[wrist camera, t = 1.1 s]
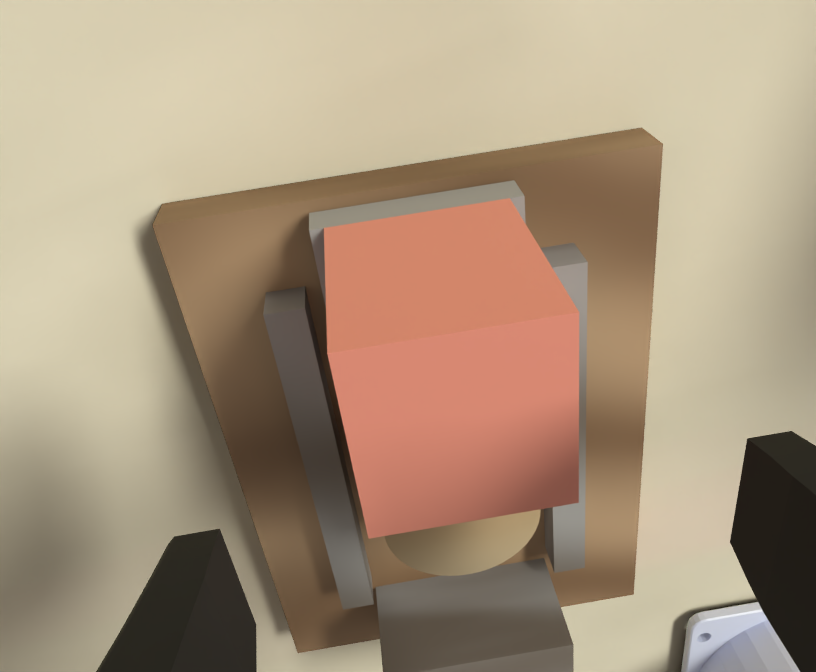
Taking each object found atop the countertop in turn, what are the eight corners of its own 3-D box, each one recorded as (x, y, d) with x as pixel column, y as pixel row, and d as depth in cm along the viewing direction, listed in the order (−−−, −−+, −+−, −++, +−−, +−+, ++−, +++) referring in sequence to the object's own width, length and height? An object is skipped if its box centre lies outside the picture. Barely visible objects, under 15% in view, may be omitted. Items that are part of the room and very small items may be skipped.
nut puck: (512, 470, 20) (542, 561, 18) (383, 492, 20) (394, 587, 18) (505, 365, 18) (538, 449, 16) (363, 388, 18) (372, 477, 16)
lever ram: (521, 336, 18) (594, 499, 13) (341, 366, 18) (352, 541, 13) (514, 180, 16) (598, 308, 11) (309, 212, 15) (307, 356, 11)
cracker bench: (620, 565, 25) (671, 679, 21) (298, 620, 25) (295, 746, 21) (642, 127, 17) (729, 194, 13) (162, 203, 16) (120, 294, 13)
